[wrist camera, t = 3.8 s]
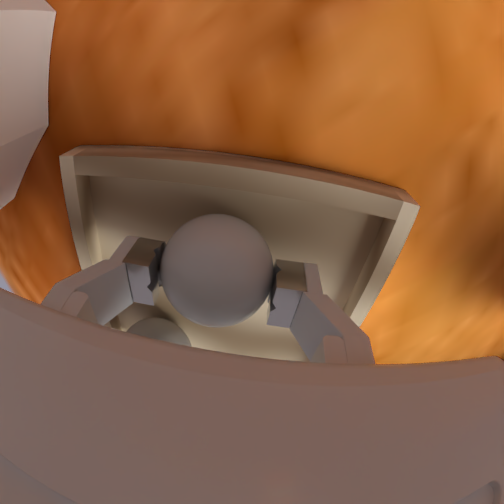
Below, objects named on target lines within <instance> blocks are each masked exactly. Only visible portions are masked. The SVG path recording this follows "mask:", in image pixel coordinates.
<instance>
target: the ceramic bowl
mask: <svg viewBox="0 0 504 504" xmlns="http://www.w3.org/2000/svg"><path fill="white" fill-rule="evenodd" d="M55 16H56V11H55V10H54V9H53V8H52V7H51V6H50V5H49V4H48V3H47V2H46V1H45V0H0V209H1V208H2V207H4V206H5V205H6V204H8V203H9V202H10V201H11V200H13V199H14V198H15V195H16V192H17V190H18V187H19V185H20V182H21V180H22V178H23V175H24V173H25V171H26V168H27V166H28V164H29V162H30V160H31V158H32V156H33V154H34V152H35V149H36V148H37V146H38V144H39V142H40V140H41V138H42V136H43V134H44V132H45V131H46V129H47V127H48V125H49V122H48V78H49V62H50V51H51V42H52V35H53V28H54V22H55Z"/></svg>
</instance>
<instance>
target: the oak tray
mask: <svg viewBox="0 0 504 504" xmlns="http://www.w3.org/2000/svg"><path fill="white" fill-rule="evenodd" d="M59 160H60V168H61V176H62V183H63V190H64V196H65V201H66V207H67V212H68V217H69V222H70V226H71V231H72V235H73V239H74V243H75V247H76V251H77V255H78V259H79V262H80V266H81V269H82V270H84V269H86V268H88V267H90V266H92V265H94V264H96V263H98V262H100V261H102V260H105V259H107V260H109V259H110V257H111V256H112V255H113V253H114V252H115V251H116V249H117V248H118V247H119V245H120V244H121V243H122V241H123V240H124V239H125V238H126V236H129V235H130V236H137V237H143V238H148V239H154V240H159V241H165V243H166V244H167V242H168V241H169V239H170V238H171V236H172V235H173V234H174V233H175V231H176V230H178V229H179V228H180V227H181V226H182V225H183V224H185V223H186V222H188V221H190V220H192V219H194V218H196V217H199V216H202V215H207V214H227V215H232V216H235V217H238V218H240V219H242V220H244V221H245V222H247V223H249V224H250V225H251V226H253V227H254V228H255V229H256V230H257V231H258V232H259V233H260V234H261V235H262V237H263V238H264V240H265V241H266V243H267V245H268V247H269V249H270V252H271V255H272V259H273V265H274V262H275V259H281V260H288V261H295V262H302V263H303V262H306V263H314V264H317V265H318V270H319V275H320V280H321V286H322V291H323V294H326V295H328V296H329V297H330V298H331V299H332V300H333V301H334V302H335V303H336V304H337V305H338V306H339V307H340V308H341V309H342V310H343V311H344V312H345V313H346V314H347V315H348V316H349V317H350V318H351V320H352V321H353V322H354V323H355V324H356V325H357V326H358V327H360V325H361V324H362V322H363V321H364V319H365V317H366V316H367V314H368V312H369V310H370V309H371V307H372V305H373V303H374V302H375V300H376V298H377V296H378V295H379V293H380V291H381V289H382V287H383V285H384V284H385V282H386V280H387V278H388V276H389V274H390V272H391V270H392V268H393V266H394V264H395V262H396V260H397V258H398V256H399V254H400V252H401V250H402V248H403V246H404V243H405V241H406V239H407V237H408V235H409V232H410V230H411V228H412V226H413V223H414V221H415V219H416V216H417V214H418V211H419V209H420V205H419V204H418V203H417V202H416V201H415V200H414V199H413V198H412V197H411V196H410V195H409V194H408V193H407V192H406V191H405V190H402V189H399V188H396V187H392V186H389V185H385V184H381V183H378V182H374V181H370V180H366V179H363V178H359V177H355V176H351V175H346V174H342V173H338V172H333V171H329V170H324V169H320V168H315V167H310V166H305V165H300V164H294V163H289V162H283V161H278V160H272V159H266V158H259V157H252V156H246V155H238V154H231V153H222V152H214V151H204V150H194V149H182V148H169V147H152V146H126V145H80V146H78V147H76V148H74V149H72V150H70V151H68V152H66V153H64V154H62V155H60V156H59ZM159 292H160V293H159V296H158V298H157V300H156V302H155V305H154V306H153V305H147V304H142V303H137V302H133V303H132V304H131V305H130V306H128V307H127V308H126V309H124V310H123V311H122V312H120V313H119V314H118V315H116V316H115V317H114V318H113V319H111V320H110V321H109V322H107V323H106V324H105V325H103V326H107V327H110V328H114V329H117V330H121V331H125V332H126V331H127V330H128V329H129V328H130V327H131V326H132V325H133V324H134V323H136V322H138V321H140V320H142V319H145V318H151V317H158V318H164V319H167V320H169V321H172V322H173V323H175V324H177V325H178V326H179V327H180V328H181V329H182V330H183V331H184V332H185V333H186V335H187V336H188V338H189V340H190V342H191V345H192V347H196V348H202V349H207V350H213V351H219V352H226V353H232V354H239V355H246V356H254V357H262V358H271V359H280V360H291V361H303V362H310V360H309V359H308V357H307V356H306V354H305V352H304V351H303V349H302V348H301V346H300V345H299V343H298V342H297V340H296V339H295V337H294V335H293V334H292V332H291V331H290V328H285V327H278V326H271V325H267V309H268V305H269V303H268V302H267V299H268V297H267V298H266V300H265V302H264V304H263V305H262V306H261V307H260V308H259V310H258V311H257V312H256V313H255V314H253V315H252V316H251V317H249V318H248V319H246V320H245V321H243V322H241V323H238V324H236V325H233V326H228V327H220V328H214V327H206V326H202V325H199V324H196V323H194V322H192V321H190V320H188V319H186V318H185V317H184V316H182V315H181V314H180V313H179V312H178V311H176V309H175V308H174V307H173V306H172V305H171V303H170V302H169V300H168V298H167V296H166V294H165V292H164V290H163V287H162V286H161V287H159Z"/></svg>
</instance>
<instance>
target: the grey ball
mask: <svg viewBox="0 0 504 504" xmlns="http://www.w3.org/2000/svg"><path fill="white" fill-rule="evenodd" d="M126 332H129V333H132V334H136V335H140V336H145V337H149V338H153V339H157V340H162V341H166V342H171V343H176V344H181V345H186V346H191V347H192V345H191V342H190V340H189V338H188V336H187V335H186V333H185V332H184V331H183V330H182V329H181V328H180V327H179V326H178V325H177V324H175V323H173V322H172V321H169V320H167V319H164V318H158V317H151V318H145V319H142V320H140V321H138V322H136V323H134V324H133V325H132V326H131V327H130V328H129V329H128V330H127V331H126Z"/></svg>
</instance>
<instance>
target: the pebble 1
mask: <svg viewBox="0 0 504 504" xmlns="http://www.w3.org/2000/svg"><path fill="white" fill-rule="evenodd" d="M273 274H274V265H273V259H272V255H271V252H270V249H269V247H268V245H267V243H266V241H265V240H264V238H263V237H262V235H261V234H260V233H259V232H258V231H257V230H256V229H255V228H254V227H253V226H251V225H250V224H249V223H247V222H245V221H244V220H242V219H240V218H238V217H235V216H232V215H227V214H207V215H202V216H199V217H196V218H194V219H192V220H190V221H188V222H186V223H185V224H183V225H182V226H181V227H180V228H179V229H178V230H176V231H175V233H174V234H173V235H172V236H171V238H170V239H169V241H168V242H167V244H166V246H165V249H164V251H163V254H162V258H161V264H160V277H161V282H162V287H163V290H164V292H165V294H166V296H167V298H168V300H169V302H170V303H171V305H172V306H173V307H174V308H175V309H176V311H178V312H179V313H180V314H181V315H182V316H184V317H185V318H186V319H188V320H190V321H192V322H194V323H196V324H199V325H202V326H206V327H214V328H220V327H228V326H233V325H236V324H238V323H241V322H243V321H245V320H246V319H248V318H249V317H251V316H252V315H253V314H255V313H256V312H257V311H258V310H259V308H260V307H261V306H262V305H263V304H264V302H265V300H266V298H267V297H268V295H269V293H270V290H271V287H272V283H273Z"/></svg>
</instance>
